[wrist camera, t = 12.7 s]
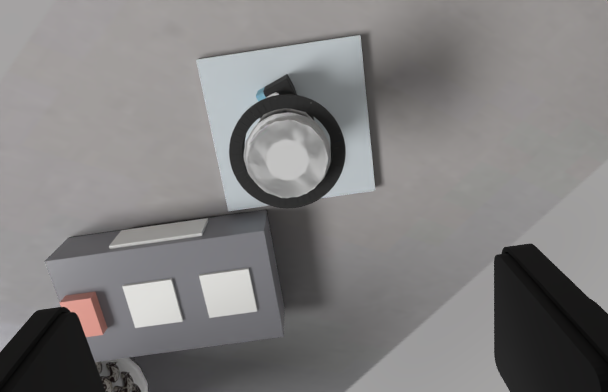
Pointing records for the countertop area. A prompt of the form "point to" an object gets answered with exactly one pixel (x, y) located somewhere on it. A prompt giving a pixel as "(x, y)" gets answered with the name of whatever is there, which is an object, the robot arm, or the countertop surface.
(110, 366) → the decorative candle
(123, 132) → the countertop surface
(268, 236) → the power strip
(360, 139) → the pale blue mat
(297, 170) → the push button
